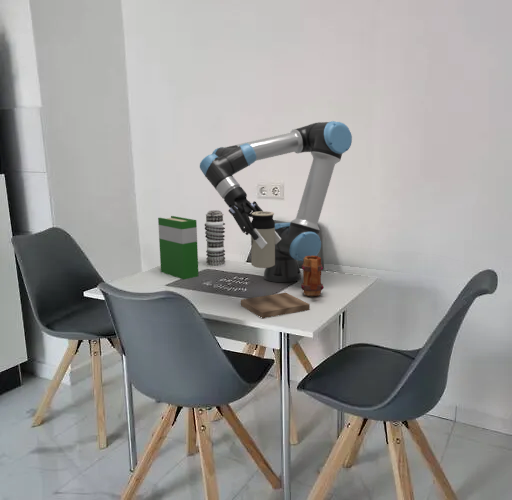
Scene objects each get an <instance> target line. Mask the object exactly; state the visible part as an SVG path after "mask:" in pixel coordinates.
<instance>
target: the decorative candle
mask: <svg viewBox="0 0 512 500" xmlns="http://www.w3.org/2000/svg"><path fill="white" fill-rule="evenodd" d="M223 216H224V213H223V212H222V211H221V210H219V209H218V210H217V209H216V210H208V211H207V213H206V214H205V217H206V218H205V219H206V220H205V223H204V230H205V232H204V233H205V236H204V237H205V238H206V239H205V241H206V251H205V252H206V256H207V257H206V267H208V268H223V267H225V266H226V257H225V255H226V253H225V252H226V250H225V246H224V241H225V237H226V236H225V235H224V234H225V232H226V231H225V229H226V227H224V226H225V225H226V223H224V217H223Z"/></svg>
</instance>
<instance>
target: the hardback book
mask: <svg viewBox="0 0 512 500" xmlns="http://www.w3.org/2000/svg"><path fill="white" fill-rule="evenodd" d="M157 220H158V240H159V258H160V259H159V262H160V272H161V273H162V274H166V275H168V276H172V277H175V278H179V279H181V280H189V279H194V278H196V277H199V255H198V228H197V219H193V218H192V219H191V218H186V217H180V216H174V215H171V216H170V217H169V218H167V217H166V218H165V217H158V218H157Z"/></svg>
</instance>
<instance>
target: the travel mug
mask: <svg viewBox="0 0 512 500" xmlns="http://www.w3.org/2000/svg"><path fill="white" fill-rule="evenodd" d="M251 213H252V212H251ZM274 215H275V213H274V212H273V211H264V210H263V211H259V212H253V213H252V216H253V218H252V220H251V223H252V226H253V230H254V229H255V228H256V229H257V231H258V232H259V233H260V234H261V236H262V237H263V238H264V240H265V241H266V242H267V245H266V246H265V247H264V248H263V249H261V248H260V247H259V245H258V244H257V243H256V241H255V240H254V239H253V238H252V237H251V236H250V240H251V241H250V242H251V243H250V246H251V247H250V249H251V253H250V254H251V256H250V257H251V261H250V262H251V266H253V267H254V268H259V269H266V268H269V267H272V266H274V265H275V223H276V222H275V220H274Z"/></svg>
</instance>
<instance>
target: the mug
mask: <svg viewBox="0 0 512 500" xmlns="http://www.w3.org/2000/svg"><path fill="white" fill-rule="evenodd" d="M302 262H303V263H302V265H301V270H302V271H303V272H302V273H303V274H302V275H303V282H302V283H301V284H300V286H301V290H302V291H303V295H304V296H306V297H319V296H321V294H322V290H323V289H325V287H324V285H323V283H322V271H323V269H324V267H323V264H322V257H320V256H318V255H317V256H305V258H304V261H302Z"/></svg>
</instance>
